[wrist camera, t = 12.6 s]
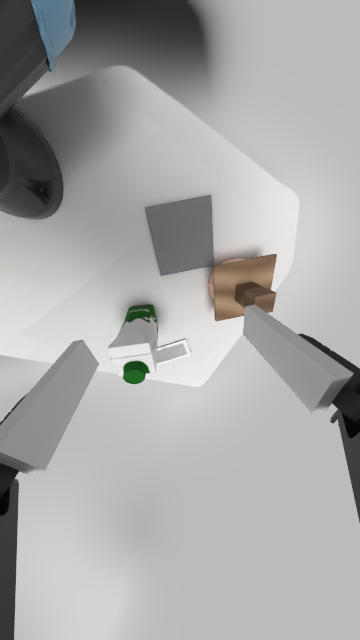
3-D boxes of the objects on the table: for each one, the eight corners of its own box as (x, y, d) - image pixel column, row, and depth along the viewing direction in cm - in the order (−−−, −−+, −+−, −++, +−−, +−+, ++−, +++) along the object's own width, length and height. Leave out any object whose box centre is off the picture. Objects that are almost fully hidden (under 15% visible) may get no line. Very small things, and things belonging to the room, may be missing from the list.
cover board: (212, 266, 31) (229, 275, 23) (273, 254, 31) (311, 258, 23) (214, 319, 38) (228, 339, 30) (264, 309, 38) (290, 327, 30)
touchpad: (191, 352, 53) (192, 357, 51) (153, 364, 53) (153, 368, 51) (185, 337, 49) (186, 341, 47) (145, 350, 49) (144, 354, 48)
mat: (145, 208, 30) (144, 207, 29) (209, 196, 30) (211, 194, 29) (160, 274, 37) (160, 275, 36) (212, 264, 37) (213, 265, 36)
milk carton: (132, 330, 44) (114, 388, 27) (124, 304, 40) (96, 354, 22) (160, 327, 45) (159, 381, 28) (155, 301, 40) (150, 347, 23)
